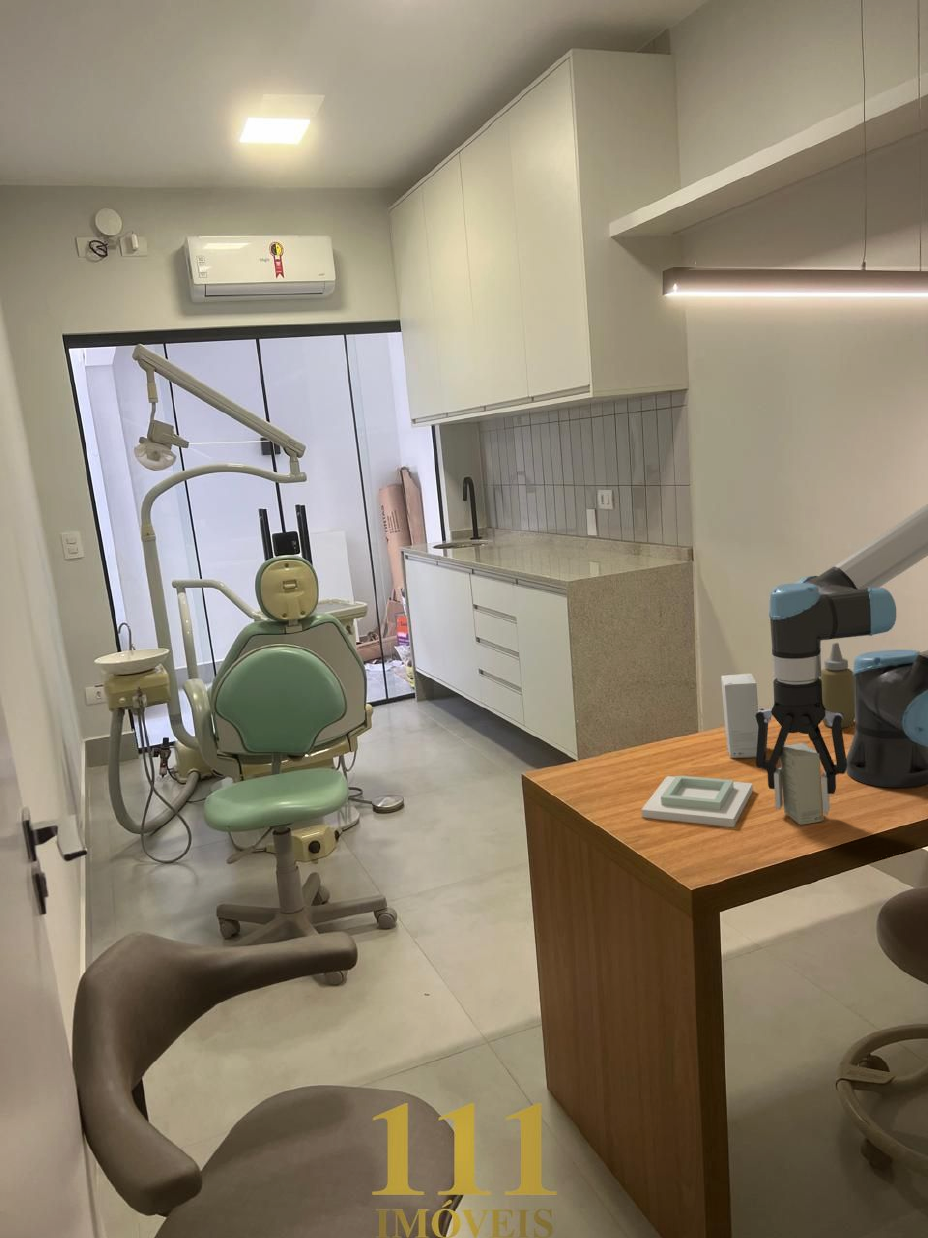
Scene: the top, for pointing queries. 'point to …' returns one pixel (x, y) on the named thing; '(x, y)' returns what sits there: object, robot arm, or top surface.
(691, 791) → the collar plate
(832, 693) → the squeeze bottle
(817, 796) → the skincare box
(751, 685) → the skincare box
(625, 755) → the top surface
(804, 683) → the robot arm
